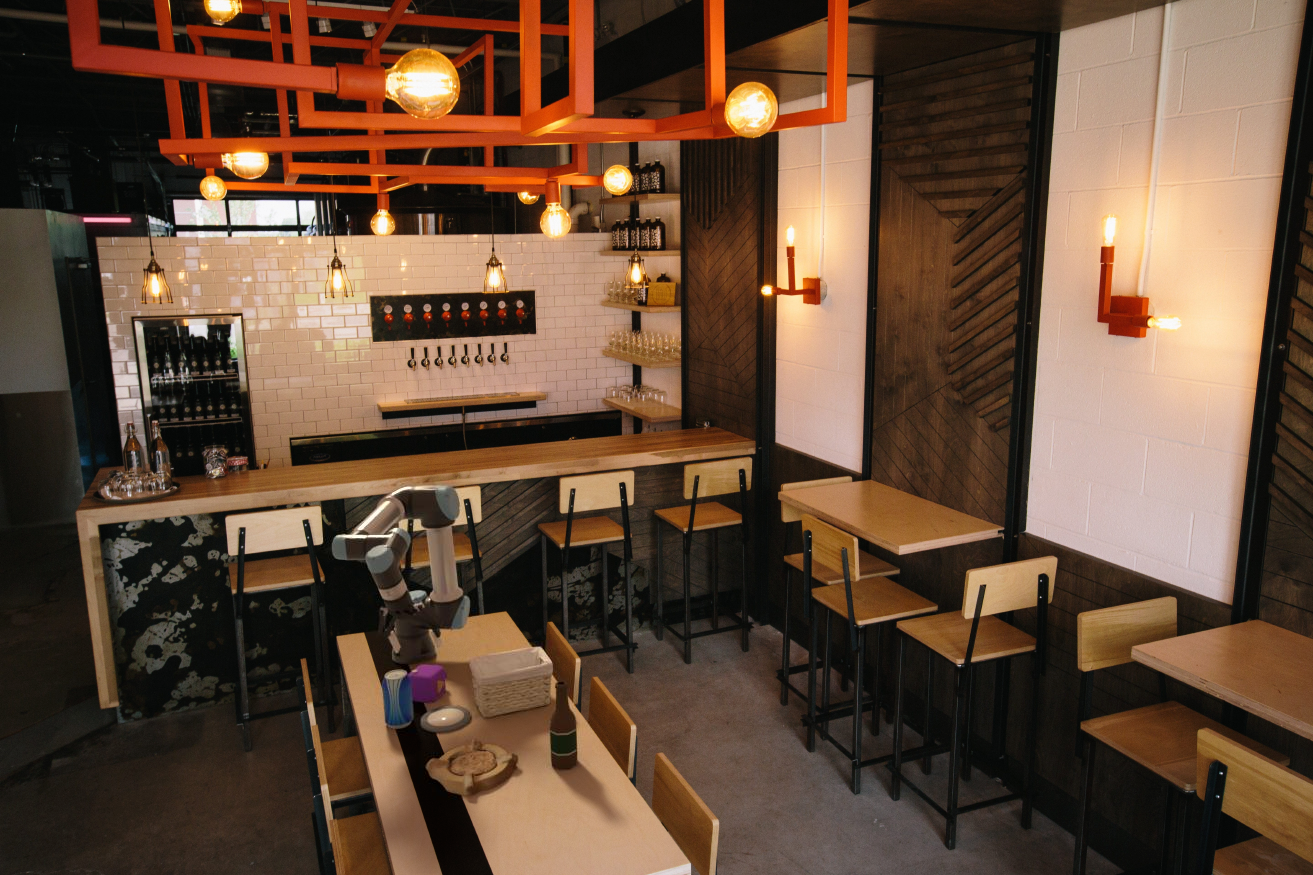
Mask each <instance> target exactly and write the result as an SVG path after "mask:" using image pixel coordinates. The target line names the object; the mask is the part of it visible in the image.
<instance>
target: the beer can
mask: <svg viewBox="0 0 1313 875" xmlns="http://www.w3.org/2000/svg"><path fill="white" fill-rule="evenodd" d="M381 688H382V698H383V699H382V702H383V713H384V722H385V724H386V725H387V726H388V727H389V728H390V729H396V730H398V729H403V728H407V727H408V726H410V725H411V723H412V721H413V720H414V717H415V716H414V704H413V701H412V690H411V679H410V677H409V676H408V672H407V670H404V669H394V670H390V671H388V672H386V673H385V674H384V678H383V680H382V682H381Z"/></svg>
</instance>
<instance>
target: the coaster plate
mask: <svg viewBox="0 0 1313 875" xmlns="http://www.w3.org/2000/svg"><path fill="white" fill-rule="evenodd" d="M471 718H472V716H471V711H470V710H469V709H468V708H466V707H464V706H460V705H443V706H438V707H435V708H433V709H430V710H429V711H427V712H426V713H424V714H423V715H422V716H421V717H420V726H421V728H422V729H423V730H425V731H427V732H429V733H438V734H439V733H440V734H441V733H449V732H452V731H453V732H454V731H457V730H459V729H462V728H463V727H465V726H467V724H468V723H469V722H470V721H471Z"/></svg>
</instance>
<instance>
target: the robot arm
mask: <svg viewBox="0 0 1313 875" xmlns="http://www.w3.org/2000/svg"><path fill="white" fill-rule="evenodd" d="M460 507H461V503H460V498H459V493H458V492H457V490H456V489H455V488H454V487H453V486H451V485H443V484H436V485H435V484H434V485H431V484H430V485H406V486H402V487H399V488H397V489H395V490H393V491H391V492H389V493H388V494H386V495H385V496H383V497H382V498H381V499H380V500H379V501H378V503H377V505H376V508H375V509H374V510H372V512H371V513H369V515H368V516H367V517H365V519H363V521H361V522H360V523H359V524H358V525H356V527H355V528H354V529H353V530H351V532H350V533H349V534H345V533H344V534H337V535H336V536H334V538H333V540H332V543H331V552H332V553H331V554H332V555H333V557H334V558H335V559H337V560H345V561H360V560H361V561H363V560H365V561H366V565H367V568H368V570H369V571H370V573H371V576H372V578H373V580H374V582H375V584H376V586H377V589H378V591H379V594H380V596H381V598H382V600H383V603H384V605H385V606H384V605H381V606H380V609H379V611H378V616H379V622H378V628H377V629H378V630H377V636H379V637H382V636H384V637H385V638H386V640H387V642H388V644H389V645H390V644H391V646H392V651H391V654H392V655H391V657H392V661H393V662H395V663H397V664H402V665H414V664H419V663H420V664H421V663H423V662H426V661H429V660H430V659H432V658H433V657H434V656H436V648H437V649H438V648H439V649H440V648H441V645H442V642H443V641H442V639H441V635H442V633H441V630H450V631H453V630H462V629H463V628H464V627H465V626H466V624H467V621H468V619H469V614H470V608H471V600H470V598H469V596H467V595H464V591H463V589H462V588H461V587H459V585H458V574H457V566H456V565H457V564H456V556H455V547H454V546H455V545H454V538H453V528H452V527H453V525H454V524H455V523H456V519H458V518H459V516H460V511H461V509H460ZM403 520H420V525H421V528H423V529H424V530H426V538H427V546H428V555H429V565H430V575H431V582H432V591H431V592H430V594H429V595H428V594H427V591H425V590H421V589H420V590H419V589H418V590H413V591H410V590H409V589H408V588H407V587H408V586H407V584H406V582H405V579H404V578H403V575H402V572H401V570H400V565H401V562H402V561H403V559H404V557H405V555H406V554H407V552H408V550H409V547H410V544H411V542H412V541H411V539H412V538H411V535H410V534H409V532H408V531H407V530H405V529H404V528H401V527H394V528H392V529H390V528H391V527H392V526H393V525H394V524H398V523H400V522H401V521H403ZM389 529H390V530H389ZM386 532H387V533H386ZM385 533H386V534H385ZM388 614H389V615H390V616H392V618H391V620H390V622H389V624H388V626H387V627H386V621H387V620H386V619H387V615H388ZM385 627H386V628H385ZM393 627H394V629H395V630H392V629H393ZM429 630H430V631H429ZM433 641H434V642H433Z"/></svg>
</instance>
